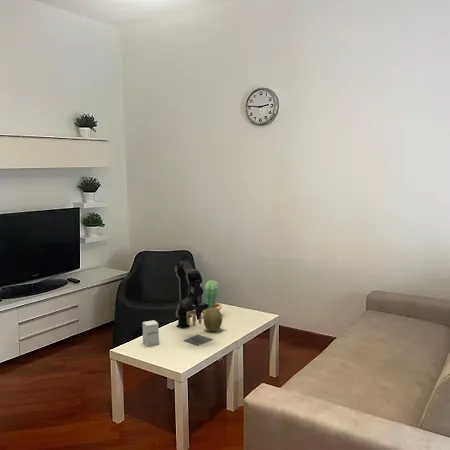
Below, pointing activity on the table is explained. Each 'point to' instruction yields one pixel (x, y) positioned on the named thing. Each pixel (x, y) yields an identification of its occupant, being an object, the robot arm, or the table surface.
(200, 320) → the stool
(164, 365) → the table surface
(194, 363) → the table surface
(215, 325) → the fruit
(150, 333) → the supplement box
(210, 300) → the potted cactus
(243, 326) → the table surface
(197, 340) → the mat
